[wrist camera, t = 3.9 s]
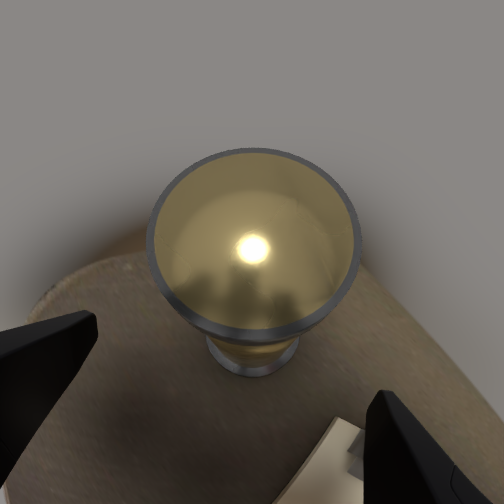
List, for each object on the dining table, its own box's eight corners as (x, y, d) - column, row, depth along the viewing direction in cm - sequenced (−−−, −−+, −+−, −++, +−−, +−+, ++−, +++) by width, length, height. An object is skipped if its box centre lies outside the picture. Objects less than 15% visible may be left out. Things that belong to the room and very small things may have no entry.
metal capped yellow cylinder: (207, 376, 17) (120, 348, 6) (209, 290, 20) (154, 145, 8) (299, 375, 17) (390, 345, 6) (294, 290, 20) (349, 143, 8)
